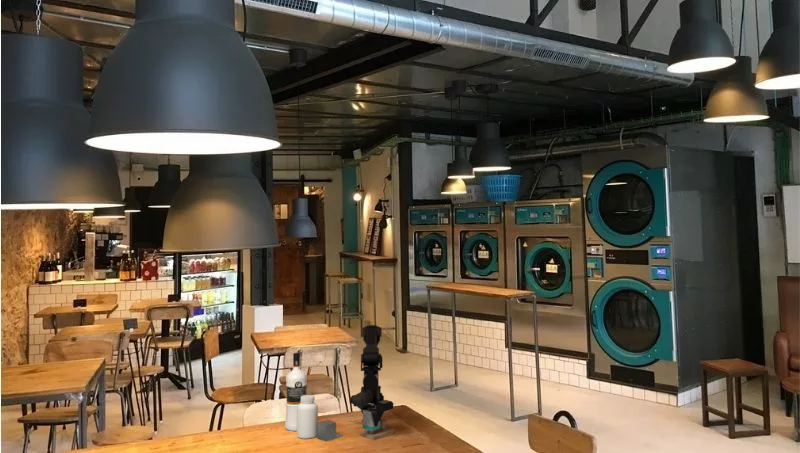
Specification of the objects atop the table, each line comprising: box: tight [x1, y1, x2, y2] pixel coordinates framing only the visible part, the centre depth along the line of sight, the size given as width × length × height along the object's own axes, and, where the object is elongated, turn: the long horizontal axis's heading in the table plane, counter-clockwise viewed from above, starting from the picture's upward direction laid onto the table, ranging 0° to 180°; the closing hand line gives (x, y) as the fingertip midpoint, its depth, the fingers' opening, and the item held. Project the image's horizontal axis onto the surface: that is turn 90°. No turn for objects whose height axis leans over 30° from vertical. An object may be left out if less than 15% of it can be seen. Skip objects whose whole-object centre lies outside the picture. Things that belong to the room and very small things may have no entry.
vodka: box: [284, 352, 308, 432], centre depth 228 cm, size 9×9×30 cm
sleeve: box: [362, 407, 381, 431], centre depth 216 cm, size 5×5×7 cm
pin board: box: [359, 420, 395, 441], centre depth 218 cm, size 8×11×4 cm
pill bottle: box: [296, 394, 319, 439], centre depth 218 cm, size 8×8×15 cm
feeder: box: [316, 419, 343, 442], centre depth 215 cm, size 5×8×6 cm, turn 137°
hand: (371, 425), depth 216 cm, fingers closed on sleeve, 5 cm apart
